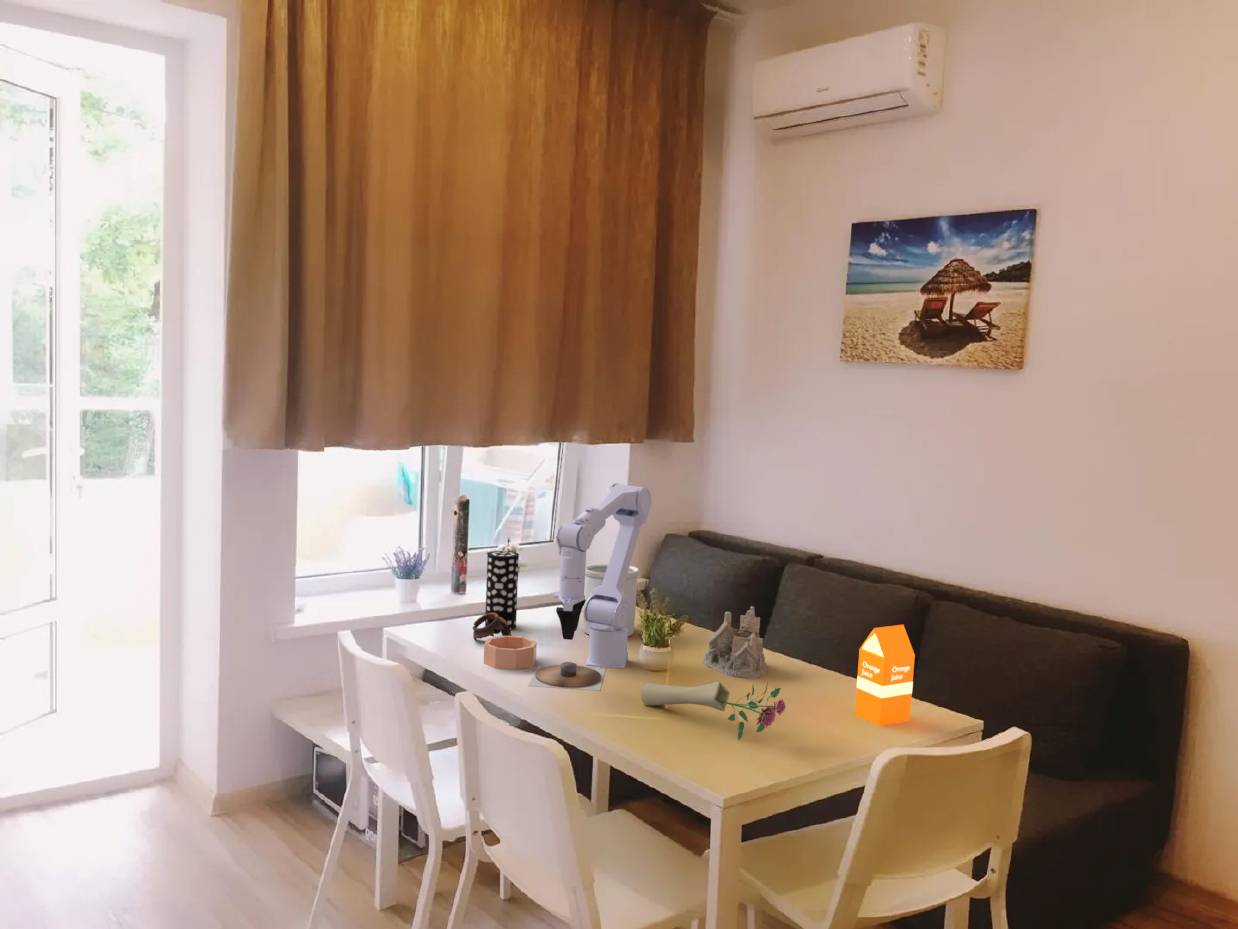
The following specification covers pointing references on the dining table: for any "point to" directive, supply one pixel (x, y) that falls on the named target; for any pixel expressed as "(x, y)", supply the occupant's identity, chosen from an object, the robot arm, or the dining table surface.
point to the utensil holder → (596, 577)
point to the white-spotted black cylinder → (502, 585)
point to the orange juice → (885, 676)
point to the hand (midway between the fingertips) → (569, 634)
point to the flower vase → (711, 701)
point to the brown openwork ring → (491, 626)
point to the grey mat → (592, 687)
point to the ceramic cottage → (737, 648)
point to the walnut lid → (568, 675)
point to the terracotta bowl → (510, 652)
